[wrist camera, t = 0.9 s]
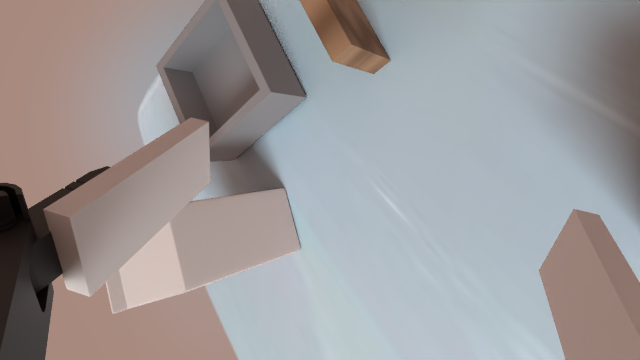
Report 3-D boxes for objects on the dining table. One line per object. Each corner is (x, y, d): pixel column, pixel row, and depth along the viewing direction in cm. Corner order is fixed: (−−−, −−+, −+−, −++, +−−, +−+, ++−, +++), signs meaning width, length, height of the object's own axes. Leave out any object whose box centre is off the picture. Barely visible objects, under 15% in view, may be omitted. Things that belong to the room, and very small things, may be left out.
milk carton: (285, 187, 44) (115, 212, 28) (302, 249, 43) (137, 310, 28) (243, 202, 48) (73, 231, 32) (257, 259, 47) (92, 317, 32)
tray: (195, 72, 50) (156, 65, 46) (257, -1, 44) (218, -17, 39) (233, 160, 48) (196, 162, 43) (306, 97, 41) (270, 92, 36)
